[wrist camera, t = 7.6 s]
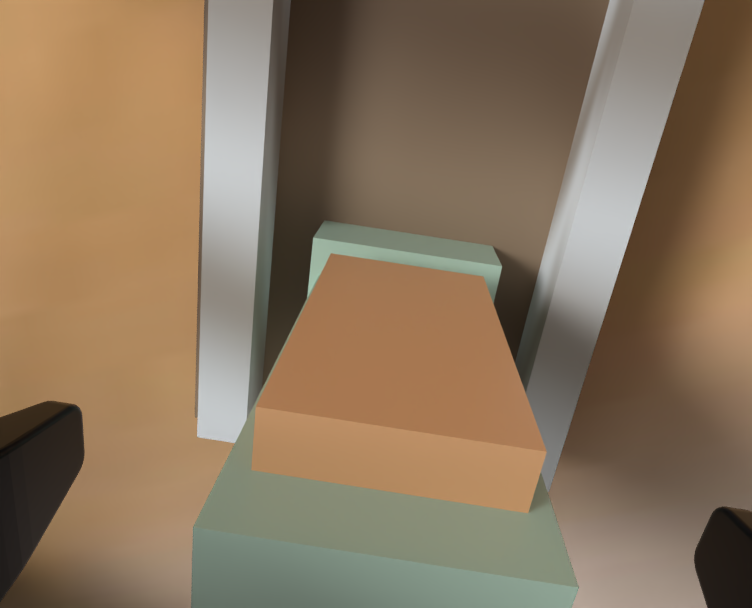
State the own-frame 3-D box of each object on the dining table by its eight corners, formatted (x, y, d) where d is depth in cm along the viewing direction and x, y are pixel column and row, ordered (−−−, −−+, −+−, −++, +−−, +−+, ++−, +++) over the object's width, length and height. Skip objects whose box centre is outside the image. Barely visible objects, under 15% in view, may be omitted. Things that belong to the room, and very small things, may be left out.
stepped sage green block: (459, 392, 15) (519, 798, 6) (308, 368, 15) (169, 742, 6) (492, 245, 13) (625, 522, 5) (324, 220, 13) (173, 452, 5)
